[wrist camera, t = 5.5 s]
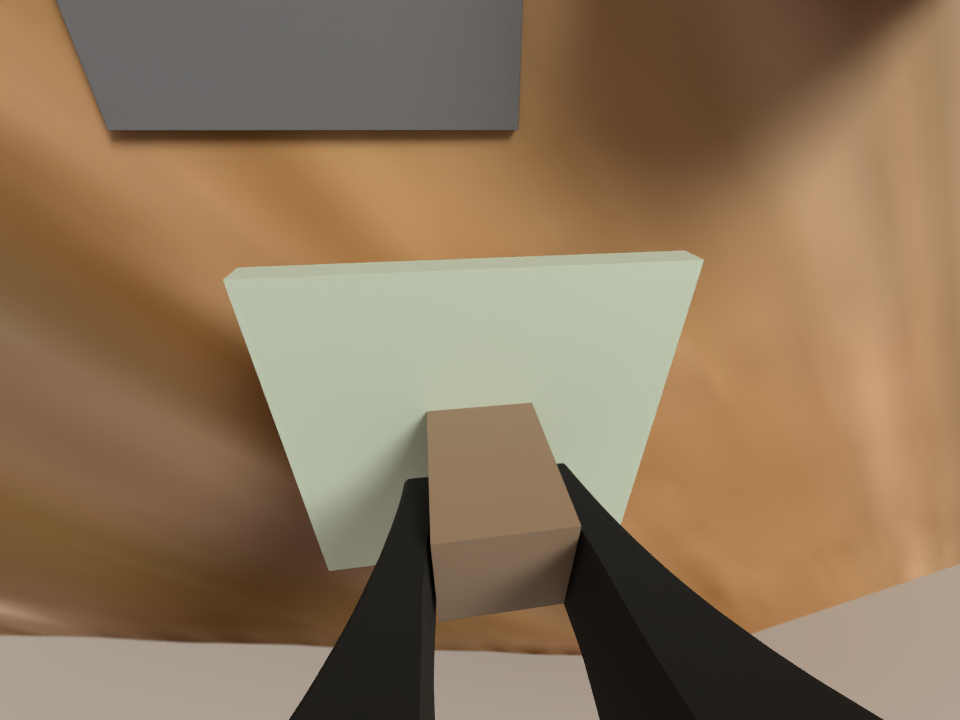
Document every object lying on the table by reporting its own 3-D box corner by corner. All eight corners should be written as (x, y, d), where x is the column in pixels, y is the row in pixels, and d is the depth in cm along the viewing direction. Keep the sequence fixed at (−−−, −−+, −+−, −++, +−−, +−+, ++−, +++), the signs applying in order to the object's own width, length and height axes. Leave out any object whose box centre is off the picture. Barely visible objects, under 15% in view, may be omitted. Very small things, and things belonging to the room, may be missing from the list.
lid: (332, 550, 15) (300, 714, 11) (237, 267, 9) (86, 393, 5) (609, 516, 16) (673, 651, 12) (685, 250, 10) (861, 337, 6)
